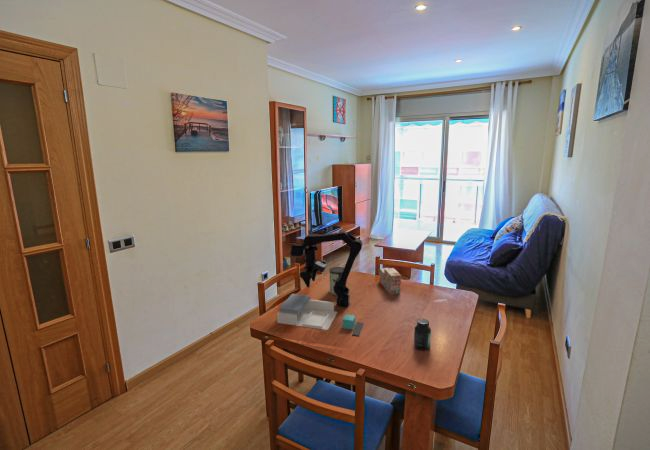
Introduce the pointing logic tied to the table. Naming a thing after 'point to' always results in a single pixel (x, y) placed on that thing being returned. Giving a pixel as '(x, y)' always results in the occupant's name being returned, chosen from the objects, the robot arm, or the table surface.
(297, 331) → the table surface
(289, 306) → the sliding cover
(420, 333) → the supplement bottle
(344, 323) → the teal block
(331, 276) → the coffee can
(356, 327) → the rubber mat
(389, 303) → the table surface
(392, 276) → the stack of blocks
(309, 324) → the open white tray
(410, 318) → the table surface
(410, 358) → the table surface
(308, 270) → the robot arm
